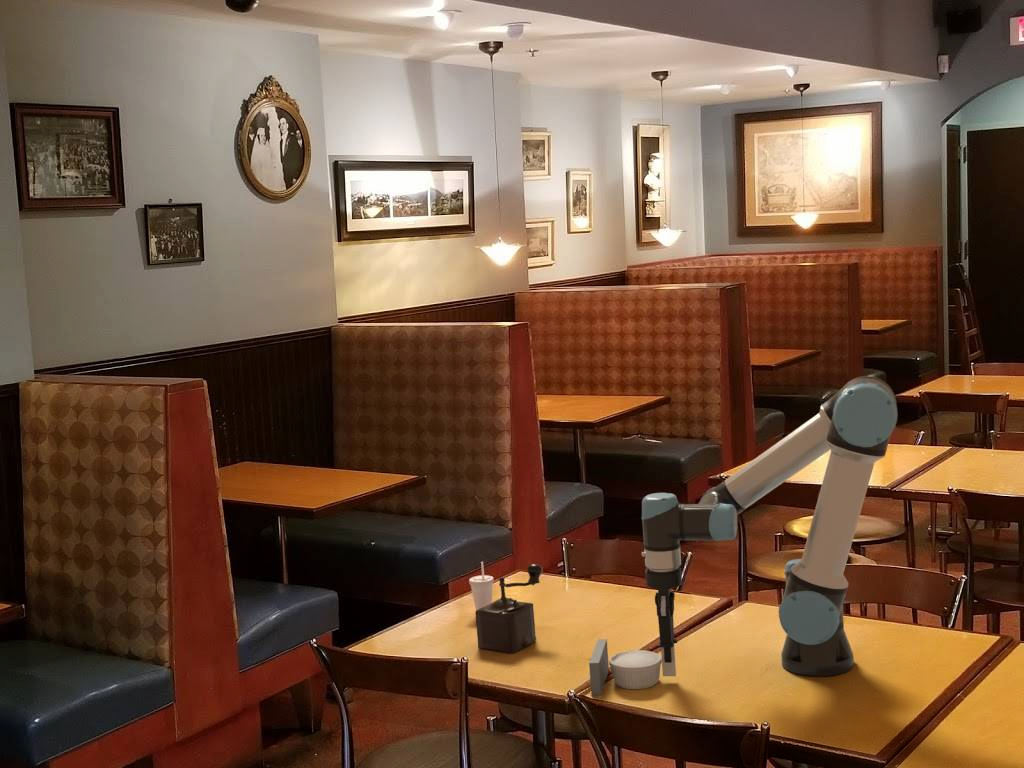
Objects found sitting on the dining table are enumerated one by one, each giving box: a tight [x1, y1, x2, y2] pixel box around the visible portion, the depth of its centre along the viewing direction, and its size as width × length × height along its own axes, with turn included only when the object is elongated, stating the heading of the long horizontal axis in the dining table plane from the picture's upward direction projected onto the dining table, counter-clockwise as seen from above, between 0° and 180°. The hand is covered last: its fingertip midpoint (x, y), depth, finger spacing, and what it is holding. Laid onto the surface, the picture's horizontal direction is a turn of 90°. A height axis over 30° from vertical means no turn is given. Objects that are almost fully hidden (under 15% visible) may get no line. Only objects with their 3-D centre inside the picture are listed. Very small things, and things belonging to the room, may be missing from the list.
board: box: [588, 638, 610, 696], centre depth 262 cm, size 2×15×7 cm, turn 169°
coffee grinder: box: [475, 563, 544, 655], centre depth 292 cm, size 16×11×18 cm
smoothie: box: [468, 561, 495, 611], centre depth 315 cm, size 6×6×14 cm
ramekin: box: [608, 649, 662, 690], centre depth 261 cm, size 11×11×5 cm
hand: (669, 674), depth 259 cm, fingers closed
